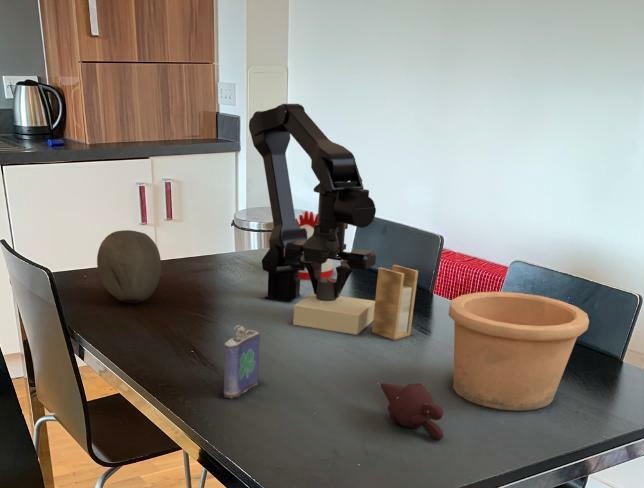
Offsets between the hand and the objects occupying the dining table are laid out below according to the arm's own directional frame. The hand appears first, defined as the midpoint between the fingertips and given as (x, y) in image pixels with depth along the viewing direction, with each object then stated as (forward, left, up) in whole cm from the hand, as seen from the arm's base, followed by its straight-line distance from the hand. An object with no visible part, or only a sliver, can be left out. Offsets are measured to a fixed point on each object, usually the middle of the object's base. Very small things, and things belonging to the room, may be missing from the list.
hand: (326, 295), depth 166 cm
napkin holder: (+16, -5, -4) cm, 17 cm away
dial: (0, 0, 0) cm, 0 cm away
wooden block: (+3, -3, -4) cm, 6 cm away
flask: (+2, -47, -5) cm, 47 cm away
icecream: (+31, -48, -5) cm, 57 cm away
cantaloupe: (-42, -11, -5) cm, 44 cm away
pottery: (+42, -27, -5) cm, 50 cm away
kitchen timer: (-18, +34, -5) cm, 39 cm away
